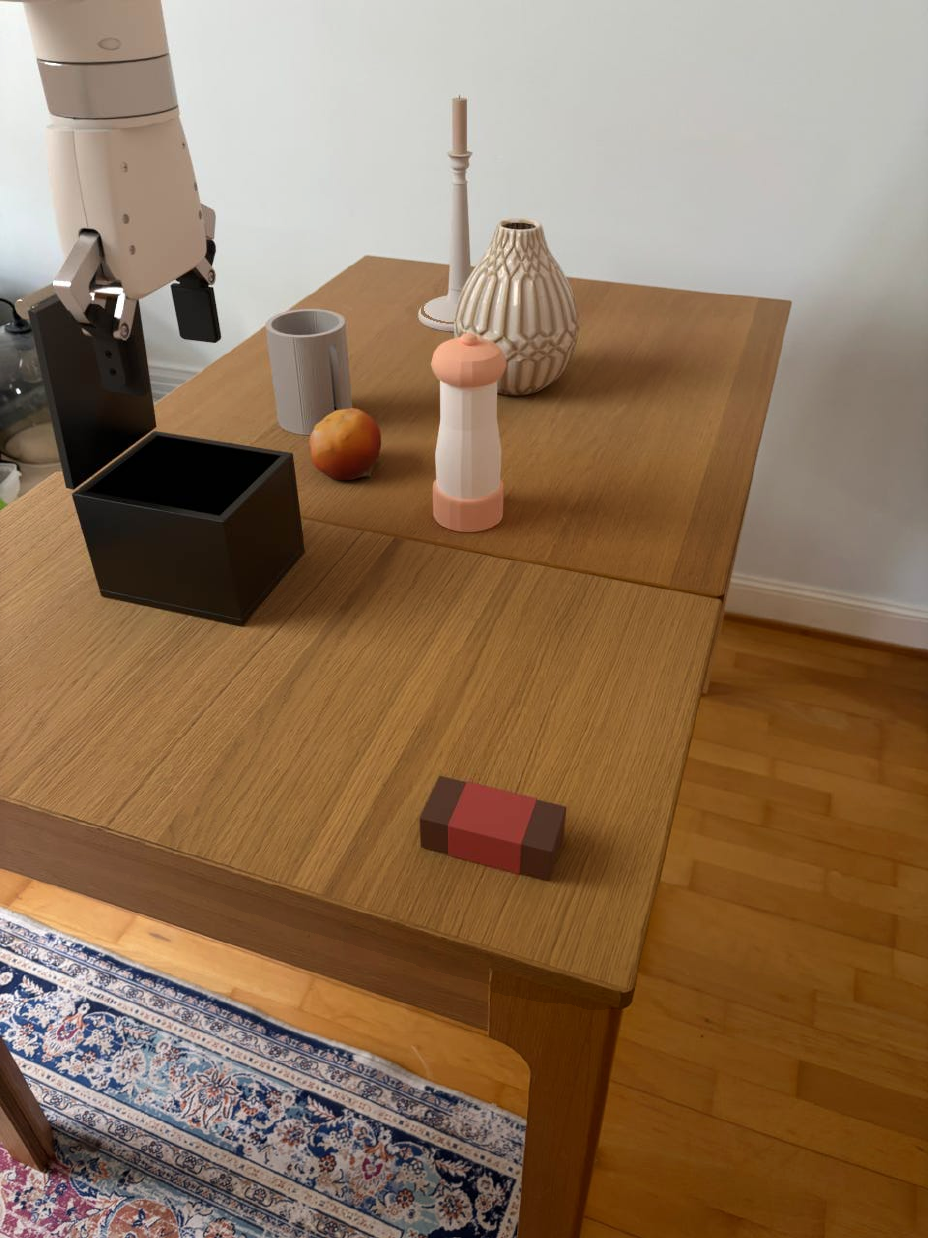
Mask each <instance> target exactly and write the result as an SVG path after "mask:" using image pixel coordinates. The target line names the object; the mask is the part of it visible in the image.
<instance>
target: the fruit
mask: <svg viewBox="0 0 928 1238" xmlns="http://www.w3.org/2000/svg"><path fill="white" fill-rule="evenodd" d="M308 447H309V451H310V457H311V462H312V464H313V466H314V467H315V468H316V469H317V470H318V471H319V472H321V473H322V474H323V475H325V476H327V478H328V477H329V478H330V479H333V480H336V481H353V480H355V479H359V478H363V477H368V478H372V472H373V469H374V466H375V464H376V462H377V463H381V460H378V459H379V456H380V453H381V447H382V435H381V430H380V427H379V426H378V423H377V422H376V421H375V420H374V418H373V417H372V416H371V415H369V414H367V412H365V411H364V410H362V409H359V408H354V407H352V408H350V409H343V410H337V409H336V410H334V412H333V413H331V414H329V415H327V416H326V417H325V418H324V419H323V420H322V421H320V422H319V423H318V424H316V425H315V428H314V430H313V432H312V433H311V435H309V442H308Z"/></svg>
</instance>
